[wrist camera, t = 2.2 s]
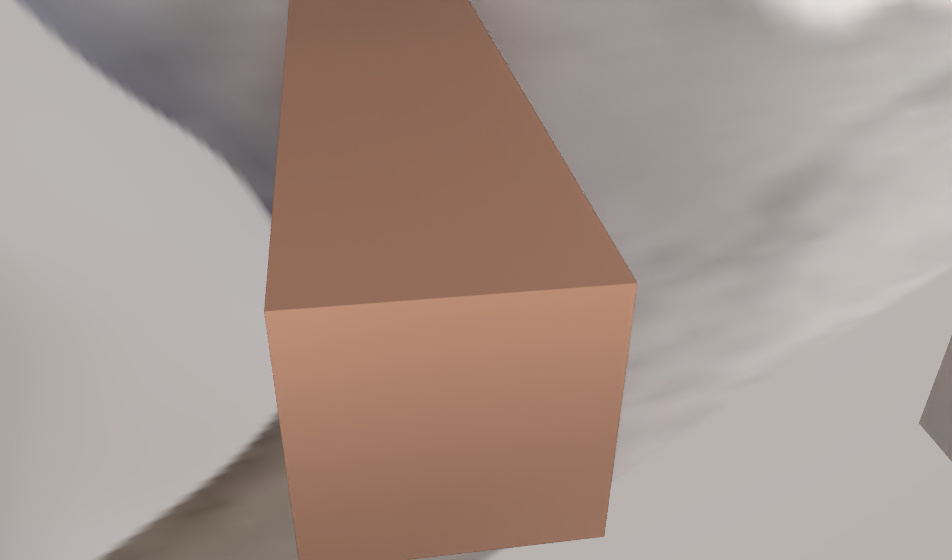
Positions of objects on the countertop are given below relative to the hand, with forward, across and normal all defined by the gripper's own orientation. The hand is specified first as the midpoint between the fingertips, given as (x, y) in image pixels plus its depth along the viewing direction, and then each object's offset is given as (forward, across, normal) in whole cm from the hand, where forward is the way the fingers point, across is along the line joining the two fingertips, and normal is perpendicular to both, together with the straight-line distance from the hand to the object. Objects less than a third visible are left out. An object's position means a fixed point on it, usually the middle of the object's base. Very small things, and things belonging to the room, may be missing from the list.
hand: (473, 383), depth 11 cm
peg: (+13, 0, 0) cm, 13 cm away
